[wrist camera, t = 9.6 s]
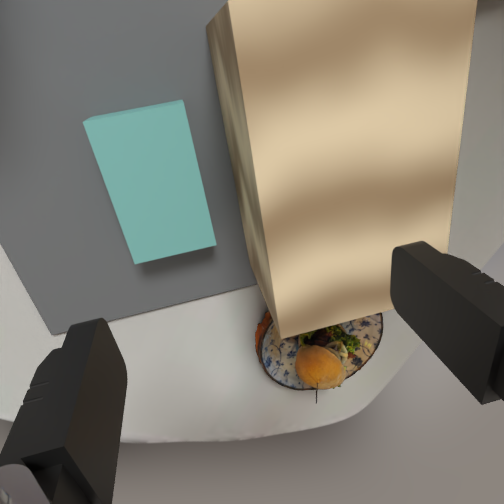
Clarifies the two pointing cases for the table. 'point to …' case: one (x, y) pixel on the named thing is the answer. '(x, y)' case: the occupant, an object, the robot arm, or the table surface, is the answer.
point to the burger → (318, 352)
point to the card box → (153, 179)
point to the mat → (84, 161)
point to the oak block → (340, 142)
